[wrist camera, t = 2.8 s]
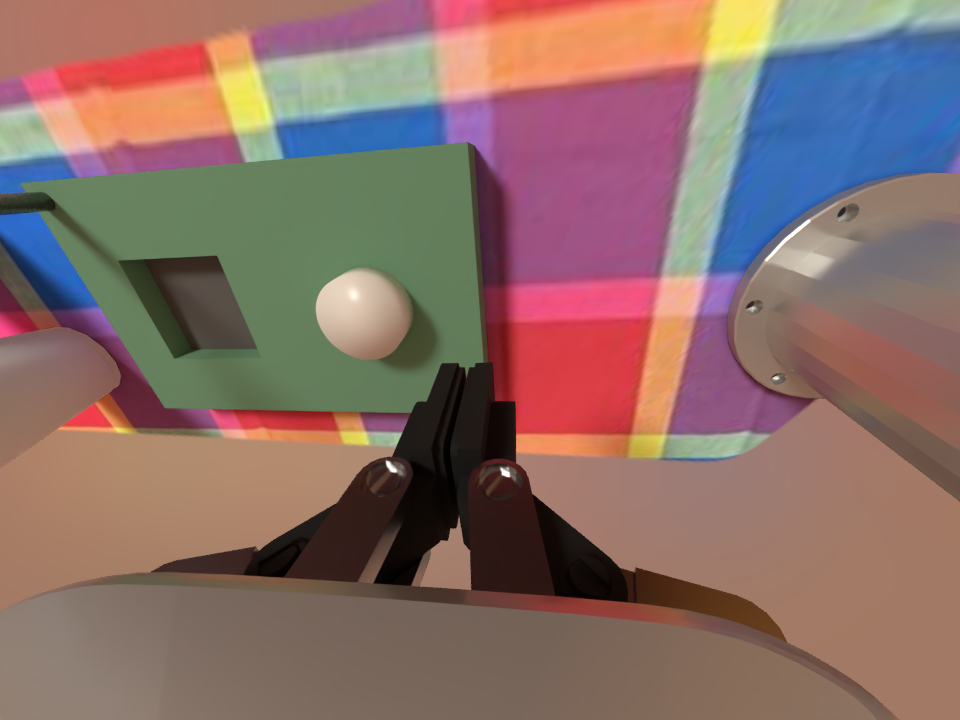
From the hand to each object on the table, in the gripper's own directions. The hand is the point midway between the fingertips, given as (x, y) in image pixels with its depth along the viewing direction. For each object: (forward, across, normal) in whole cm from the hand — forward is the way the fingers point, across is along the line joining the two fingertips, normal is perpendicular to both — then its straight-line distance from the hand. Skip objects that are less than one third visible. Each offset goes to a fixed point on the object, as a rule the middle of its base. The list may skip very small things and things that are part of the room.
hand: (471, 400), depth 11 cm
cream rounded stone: (+10, +7, 0) cm, 12 cm away
